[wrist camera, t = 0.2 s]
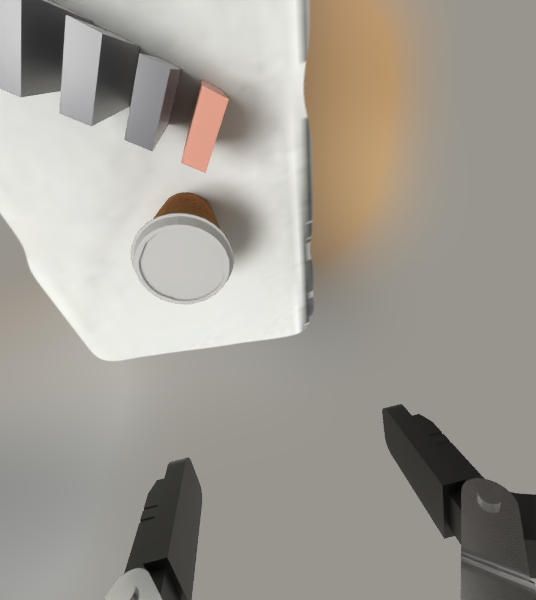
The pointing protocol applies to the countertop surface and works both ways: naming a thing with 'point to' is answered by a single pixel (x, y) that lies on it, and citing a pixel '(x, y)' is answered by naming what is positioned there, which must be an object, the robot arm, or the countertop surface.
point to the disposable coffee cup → (182, 252)
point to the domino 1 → (32, 45)
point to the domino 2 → (95, 72)
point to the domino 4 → (204, 126)
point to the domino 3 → (151, 100)
